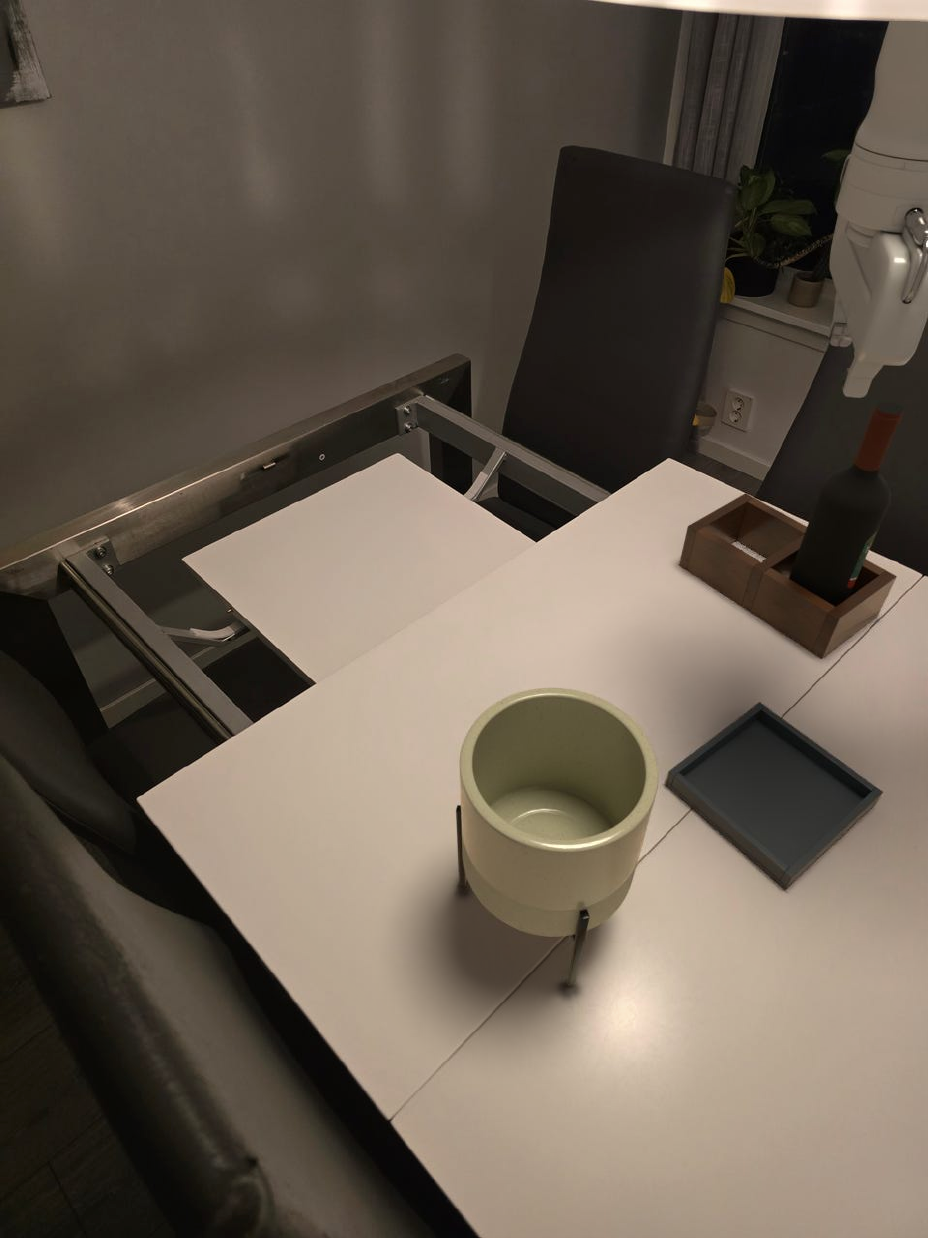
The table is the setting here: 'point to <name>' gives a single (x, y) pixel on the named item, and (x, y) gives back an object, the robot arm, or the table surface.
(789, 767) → the tray
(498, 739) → the planter
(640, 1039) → the table surface
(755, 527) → the divided storage box
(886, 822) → the table surface
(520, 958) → the table surface
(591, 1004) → the table surface
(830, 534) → the wine bottle
